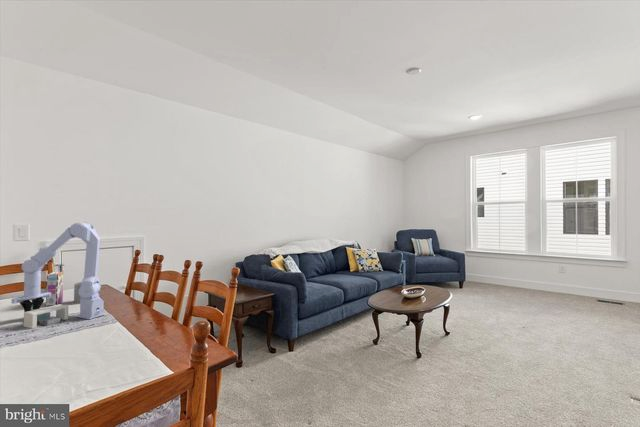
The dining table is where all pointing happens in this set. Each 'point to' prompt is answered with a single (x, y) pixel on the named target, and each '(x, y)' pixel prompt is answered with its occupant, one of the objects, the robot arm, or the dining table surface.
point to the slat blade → (42, 315)
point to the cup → (76, 294)
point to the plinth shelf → (31, 316)
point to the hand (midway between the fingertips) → (31, 315)
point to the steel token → (50, 320)
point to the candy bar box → (55, 288)
